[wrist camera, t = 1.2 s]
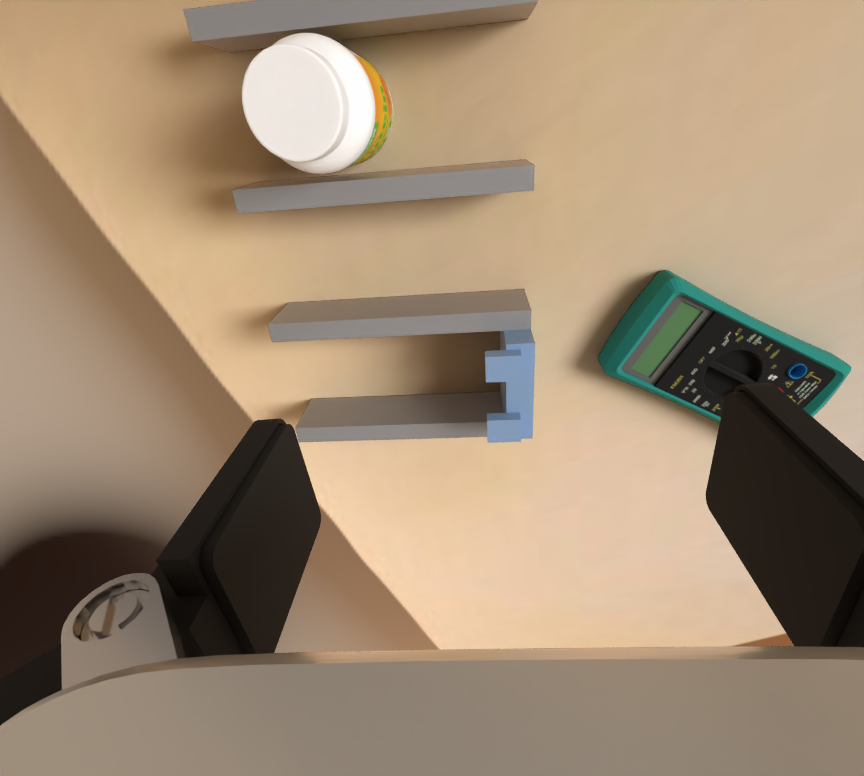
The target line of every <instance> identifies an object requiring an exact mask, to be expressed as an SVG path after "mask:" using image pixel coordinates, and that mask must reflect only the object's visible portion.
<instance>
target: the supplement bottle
mask: <svg viewBox="0 0 864 776" xmlns="http://www.w3.org/2000/svg"><path fill="white" fill-rule="evenodd" d="M242 105H243V110H244V114H245V117H246V120H247V122H248V125H249V127H250V129H251V131H252V132H253V134H254V135H255V137H256V138H257V139H258V141H259V142H260V143H261V144H262V145H263V146H264V147H265V148H266V149H267V150H268V151H270V152H271V153H273V154H274V155H276V156H278V157H280V158H281V159H282V160H284V161H285V162H286V163H288V164H289V165H291V166H293V167H295V168H297V169H299V170H302V171H305V172H308V173H315V174H325V173H332V172H336V171H340V170H342V169H345V168H347V167H350V166H353V165H355V164H358V163H361V162H364V161H366V160H368V159H369V158H371V157H373V156H374V155H375V154H376V153H377V152H379V151H380V149H381V148H382V147H383V145H384V144H385V142H386V141H387V139H388V137H389V134H390V131H391V128H392V123H393V103H392V98H391V94H390V91H389V88H388V86H387V84H386V82H385V80H384V78H383V77H382V75H381V74H380V73H379V72H378V70H377V69H376V68H375V67H374V66H373V65H372V64H370V63H369V62H368V61H367V60H365V59H363V58H362V57H360V56H359V55H357V54H355V53H354V52H352V51H351V50H349V49H347V48H346V47H344V46H343V45H341V44H340V43H338V42H337V41H335V40H333V39H331V38H329V37H326V36H323V35H320V34H315V33H298V34H292V35H289V36H287V37H284V38H282V39H280V40H279V41H277V42H276V43H274V44H273V45H272V46H270V47H268V48H266V49H264V50H262V51H261V52H260V53H259V54H258V55H257V56H255V58H254V59H253V60H252V61H251V63H250V64H249V66H248V68H247V70H246V73H245V76H244V80H243V85H242Z"/></svg>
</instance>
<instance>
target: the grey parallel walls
mask: <svg viewBox="0 0 864 776" xmlns="http://www.w3.org/2000/svg"><path fill="white" fill-rule="evenodd" d="M537 2H538V0H256V1H248V2H240V3H232V4H223V5H215V6H207V7H199V8H191V9H183V10H184V14H185V18H186V21H187V25H188V29H189V33H190V36H191V40H192V42H195V43H198V44H202V45H205V46H209V47H212V48H216V49H219V50H223V51H226V52H237V51H245V50H254V49H263V48H268V47H270V46H272V45H273V44H274V43H276V42H277V41H279V40H280V39H282V38H284V37H287V36H289V35H292V34H298V33H315V34H320V35H323V36H326V37H329V38H331V39H333V40H343V39H352V38H361V37H370V36H379V35H388V34H397V33H405V32H414V31H423V30H432V29H441V28H450V27H459V26H468V25H477V24H486V23H494V22H503V21H512V20H521V19H528V18H529V16H530V14H531V13H532V11H533V9H534V8H535V6H536V4H537ZM522 191H534V164H532V163H531V162H529V161H528V160H526V159H525V160H513V161H501V162H489V163H477V164H465V165H454V166H442V167H430V168H418V169H406V170H394V171H382V172H371V173H359V174H347V175H335V176H323V177H311V178H299V179H288V180H276V181H264V182H258V183H254V184H251V185H247V186H244V187H241V188H237V189H234V190H232V193H233V197H234V201H235V205H236V208H237V212H238V214H240V213H253V212H265V211H278V210H291V209H304V208H317V207H330V206H342V205H355V204H368V203H381V202H394V201H407V200H419V199H432V198H445V197H458V196H471V195H484V194H496V193H509V192H522ZM268 328H269V332H270V336H271V339H272V342H289V341H309V340H329V339H348V338H368V337H388V336H408V335H428V334H448V333H468V332H488V331H500V350H497V351H485V376H486V383H487V382H501V392H476V393H449V394H423V395H397V396H370V397H344V398H318V399H311V401H310V403H309V404H308V406H307V408H306V410H305V412H304V413H303V415H302V417H301V419H300V420H299V422H298V424H297V426H296V428H295V429H296V433H297V437H298V440H299V442H323V441H358V440H392V439H427V438H461V437H487V439H488V443H490V442H521V439H525V438H532V435H533V398H534V361H535V341H534V338H533V335H532V332H531V308H530V305H529V302H528V299H527V296H526V293H525V290H524V289H516V290H498V291H481V292H464V293H447V294H430V295H413V296H396V297H378V298H361V299H344V300H327V301H310V302H293V303H288V304H287V305H286V306H285V307H284V308H283V309H282V310H281V311H280V312H279V313H278V314H277V315H276V316H275V317H274V318H273V319H272V320H271V321H270V322H269V323H268Z"/></svg>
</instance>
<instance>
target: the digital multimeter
mask: <svg viewBox="0 0 864 776" xmlns="http://www.w3.org/2000/svg"><path fill="white" fill-rule="evenodd" d="M761 356H762V357H761ZM598 360H599V363H600V365H601V366H602V368H603V370H604V372H605V373H606V374H607V375H609V376H611V377H614V378H616V379H619V380H621V381H624V382H626V383H629V384H631V385H634V386H636V387H639V388H642V389H644V390H647V391H649V392H652V393H654V394H657V395H659V396H661V397H664V398H666V399H668V400H670V401H673V402H675V403H677V404H679V405H682V406H684V407H686V408H689V409H691V410H693V411H695V412H698V413H700V414H702V415H704V416H706V417H708V418H710V419H712V420H714V421H716V422H718V423H720V420H721V415H722V411H723V406H724V401H725V397H726V396H727V394H728V393H733V392H734V390H735V388H736V387H737V386H739V385H748V384H761V383H772V384H774V385H775V386H777V387H778V388H779V389H780V390H781V391H782V392H784V393H785V394H786V395H787V396H788V397H789V398H791V399H792V400H793V401H794V402H795V403H796V404H798V405H799V406H800V407H801V408H802V409H803V410H805V411H806V412H807V413H808V414H809V415H810V416H812V417H813V416H814V415H815V414H816V413H817V412H818V411H819V410H820V409H821V408H822V407H824V405H825V404H826V403H827V402H828V400H829V399H830V398H831V397H832V396H833V394H834V393H835V392H836V391H837V389H838V388H839V387H840V385H841V384H842V383H843V381H844V380H845V378H846V377H847V376H848V374H849V373H850V371H851V367H850V365H848V364H847V363H845V362H844V361H842V360H841V359H839V358H838V357H836V356H835V355H833V354H831V353H829V352H827V351H825V350H822V349H820V348H818V347H815V346H813V345H811V344H808V343H806V342H804V341H802V340H799V339H797V338H795V337H793V336H791V335H789V334H786V333H784V332H782V331H780V330H778V329H776V328H774V327H771V326H769V325H767V324H765V323H763V322H761V321H759V320H757V319H755V318H753V317H751V316H749V315H747V314H745V313H743V312H742V311H740V310H738V309H736V308H734V307H732V306H730V305H728V304H726V303H724V302H723V301H721V300H719V299H717V298H715V297H714V296H712V295H710V294H708V293H707V292H705V291H703V290H701V289H700V288H698V287H696V286H694V285H693V284H691V283H689V282H687V281H686V280H684V279H682V278H681V277H679V276H677V275H675V274H674V273H672V272H670V271H668V270H663V271H660V272H659V273H658V274H657V275H656V276H655V277H654V278H653V279H652V281H651V282H650V283H649V284H648V285H647V287H646V288H645V289H644V290H643V291H642V293H641V294H640V295H639V296H638V298H637V299H636V300H635V301H634V303H633V304H632V305H631V306H630V308H629V309H628V311H627V312H626V313H625V315H624V316H623V318H622V319H621V320H620V322H619V323H618V325H617V326H616V328H615V330H614V331H613V333H612V334H611V336H610V338H609V339H608V341H607V343H606V344H605V346H604V348H603V349H602V351H601V353H600V355H599V357H598Z"/></svg>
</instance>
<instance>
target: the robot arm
mask: <svg viewBox="0 0 864 776" xmlns="http://www.w3.org/2000/svg"><path fill="white" fill-rule="evenodd" d="M706 501H707V505H708V508H709V510H710V511H711V513H712V515H713V516H714V518H715V519H716V521H717V523H718V524H719V526H720V527H721V529H722V531H723V532H724V534H725V535H726V537H727V539H728V540H729V542H730V543H731V545H732V547H733V548H734V550H735V551H736V553H737V555H738V556H739V558H740V559H741V561H742V563H743V564H744V566H745V567H746V569H747V571H748V572H749V574H750V575H751V577H752V579H753V580H754V582H755V584H756V585H757V587H758V588H759V590H760V592H761V593H762V595H763V596H764V598H765V600H766V601H767V603H768V604H769V606H770V608H771V609H772V611H773V612H774V614H775V616H776V617H777V619H778V620H779V622H780V624H781V625H782V627H783V628H784V630H785V632H786V633H787V635H788V636H789V638H790V639H791V641H792V643H793V644H794V646H774V647H773V646H771V647H770V646H767V647H766V646H763V647H761V646H760V647H618V648H533V649H457V650H399V651H349V652H348V651H344V652H295V653H274V652H275V649H276V646H277V643H278V641H279V638H280V635H281V632H282V630H283V627H284V624H285V621H286V619H287V616H288V613H289V610H290V608H291V605H292V602H293V599H294V596H295V594H296V591H297V588H298V585H299V583H300V580H301V577H302V574H303V572H304V569H305V566H306V563H307V561H308V558H309V555H310V552H311V550H312V547H313V544H314V541H315V539H316V536H317V533H318V530H319V528H320V522H321V514H320V509H319V506H318V503H317V500H316V497H315V493H314V490H313V487H312V484H311V481H310V478H309V475H308V472H307V468H306V465H305V462H304V459H303V456H302V453H301V450H300V447H299V443H298V440H297V437H296V434H295V431H294V428H293V427H292V425H290V424H286V423H285V422H284V420H283V419H268V420H257V421H255V422H254V423H253V424H252V426H251V427H250V429H249V430H248V431H247V433H246V434H245V436H244V437H243V439H242V440H241V441H240V443H239V444H238V445H237V447H236V448H235V450H234V451H233V453H232V454H231V456H230V457H229V458H228V460H227V461H226V462H225V464H224V465H223V467H222V468H221V470H220V471H219V472H218V474H217V475H216V477H215V478H214V480H213V481H212V482H211V484H210V485H209V487H208V488H207V489H206V491H205V492H204V494H203V495H202V497H201V498H200V499H199V501H198V502H197V503H196V505H195V506H194V508H193V509H192V510H191V512H190V513H189V515H188V516H187V518H186V519H185V520H184V522H183V523H182V525H181V526H180V527H179V529H178V530H177V532H176V533H175V535H174V536H173V537H172V539H171V540H170V542H169V543H168V544H167V546H166V547H165V549H164V550H163V551H162V553H161V554H160V556H159V557H158V559H157V560H156V561H157V563H158V566H157V568H156V569H155V571H154V572H153V573H152V575H151V576H150V575H148V574H142V573H134V574H129V575H125V576H121V577H119V578H116V579H114V580H112V581H109V582H107V583H105V584H104V585H102V586H100V587H99V588H97V589H96V590H94V591H93V592H91V593H90V594H89V595H88V596H87V597H85V598H84V599H83V600H82V601H81V602H80V603H79V604H78V605H77V606H76V607H75V608H74V610H73V611H72V612H71V613H70V615H69V616H68V618H67V620H66V622H65V623H64V626H63V630H62V635H61V644H59V645H57V646H56V647H54V648H52V649H51V650H49V651H48V652H46V653H44V654H42V655H41V656H39V657H38V658H36V659H34V660H32V661H31V662H29V663H27V664H25V665H24V666H22V667H20V668H19V669H17V670H15V671H14V672H12V673H10V674H9V675H7V676H5V677H3V678H2V679H0V776H864V461H863V460H862V459H861V458H859V457H858V456H857V455H856V454H855V453H854V452H852V451H851V450H850V449H849V448H848V447H847V446H845V445H844V444H843V443H842V442H841V441H840V440H838V439H837V438H836V437H835V436H834V435H833V434H831V433H830V432H829V431H828V430H827V429H826V428H824V427H823V426H822V425H821V424H820V423H819V422H817V421H816V420H815V419H814V418H813V417H812V416H810V415H809V414H808V413H807V412H806V411H805V410H803V409H802V408H801V407H800V406H799V405H798V404H796V403H795V402H794V401H793V400H792V399H791V398H789V397H788V396H787V395H786V394H785V393H784V392H782V391H781V390H780V389H779V388H778V387H777V386H775V385H774V384H772V383H761V384H748V385H739V386H737V387H736V388H735V390H734V392H733V393H728V394H727V396H726V397H725V401H724V406H723V411H722V415H721V420H720V425H719V430H718V435H717V440H716V445H715V450H714V455H713V460H712V465H711V470H710V475H709V480H708V485H707V490H706Z"/></svg>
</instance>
